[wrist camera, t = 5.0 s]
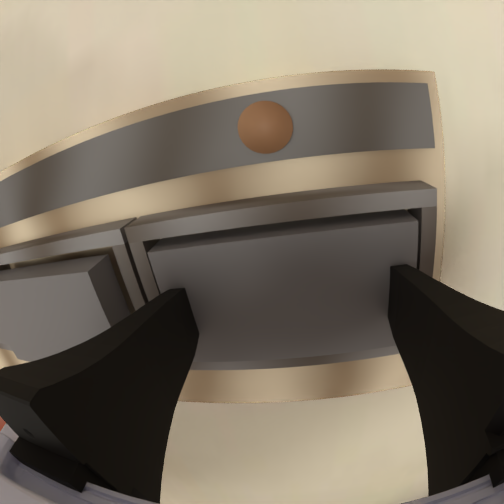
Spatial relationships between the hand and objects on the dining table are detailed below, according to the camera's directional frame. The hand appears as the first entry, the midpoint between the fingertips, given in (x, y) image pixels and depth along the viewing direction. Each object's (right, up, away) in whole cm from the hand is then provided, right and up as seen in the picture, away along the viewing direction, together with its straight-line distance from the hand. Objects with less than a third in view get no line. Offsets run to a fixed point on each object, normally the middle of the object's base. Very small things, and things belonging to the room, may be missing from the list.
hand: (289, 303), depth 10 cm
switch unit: (-10, 0, +5) cm, 11 cm away
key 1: (0, +1, +1) cm, 1 cm away
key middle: (-11, -1, +2) cm, 11 cm away
